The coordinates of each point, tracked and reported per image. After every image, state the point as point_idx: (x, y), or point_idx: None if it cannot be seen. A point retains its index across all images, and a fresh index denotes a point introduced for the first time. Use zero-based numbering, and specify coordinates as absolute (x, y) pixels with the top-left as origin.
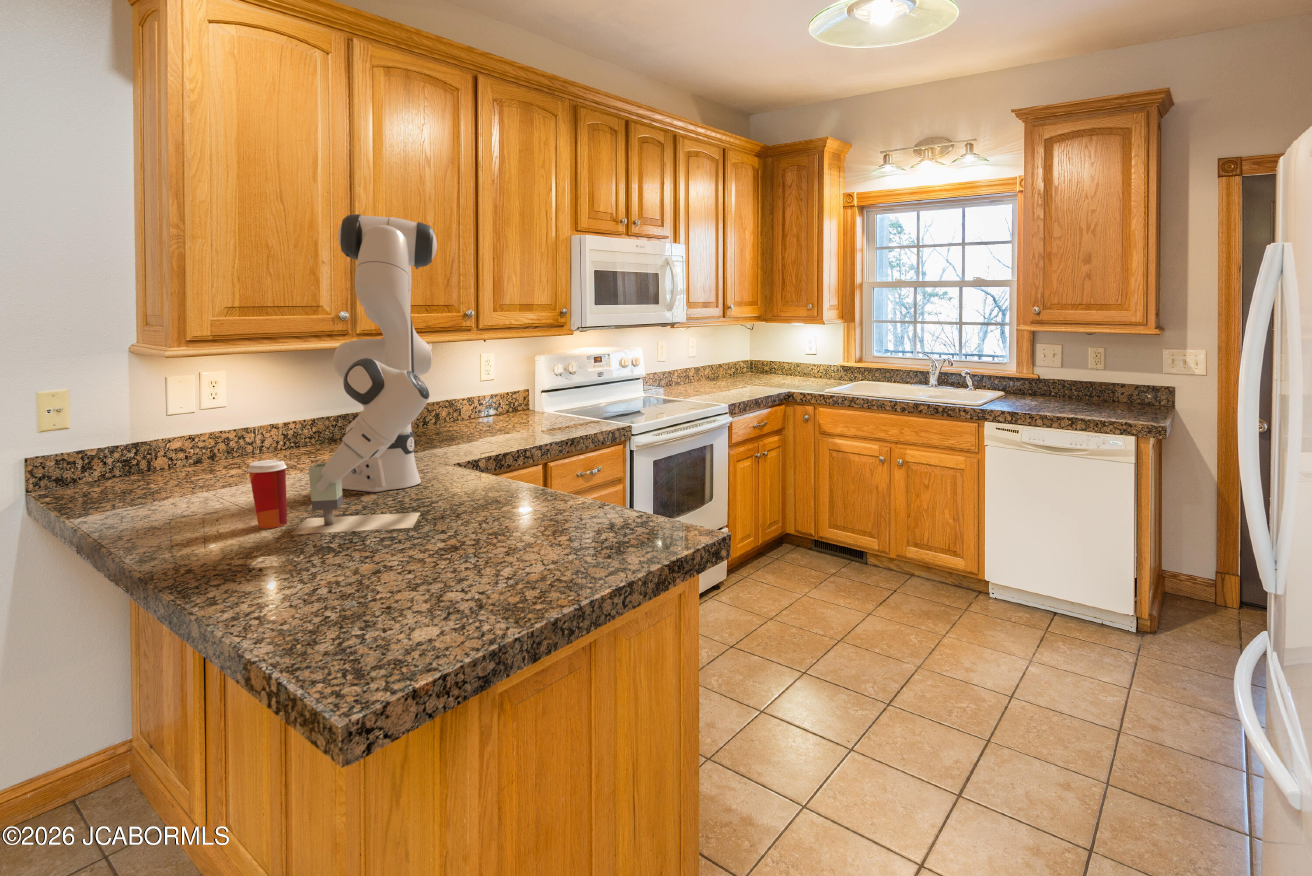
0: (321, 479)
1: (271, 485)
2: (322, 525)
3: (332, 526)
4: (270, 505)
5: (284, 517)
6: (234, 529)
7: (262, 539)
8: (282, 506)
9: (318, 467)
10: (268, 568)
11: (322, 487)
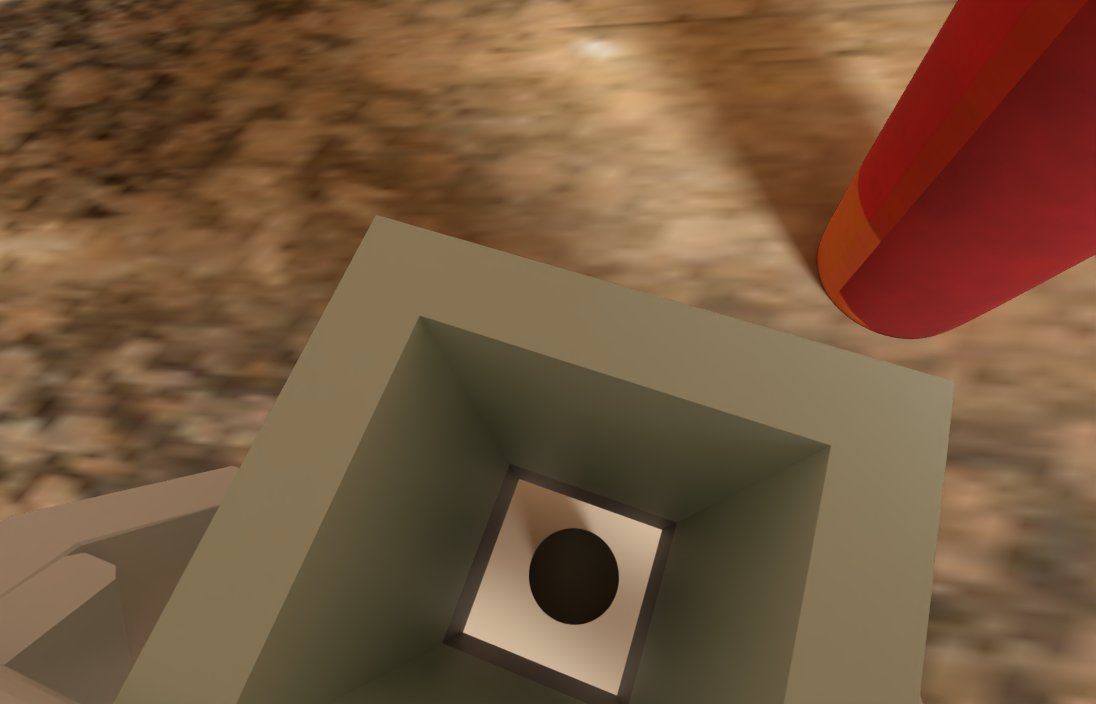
0: (200, 479)
1: (970, 58)
2: (572, 526)
3: (505, 592)
4: (874, 175)
5: (885, 307)
6: (871, 108)
7: (598, 220)
8: (911, 260)
9: (300, 413)
10: (90, 240)
11: None
